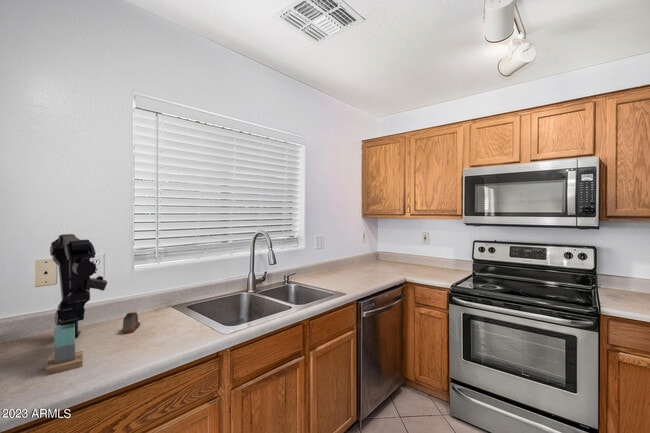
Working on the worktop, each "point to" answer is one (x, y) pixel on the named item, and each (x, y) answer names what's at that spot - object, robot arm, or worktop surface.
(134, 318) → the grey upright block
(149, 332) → the worktop surface
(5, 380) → the worktop surface
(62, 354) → the teal block grey base
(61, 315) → the robot arm
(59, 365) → the stand
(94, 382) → the worktop surface
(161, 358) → the worktop surface
